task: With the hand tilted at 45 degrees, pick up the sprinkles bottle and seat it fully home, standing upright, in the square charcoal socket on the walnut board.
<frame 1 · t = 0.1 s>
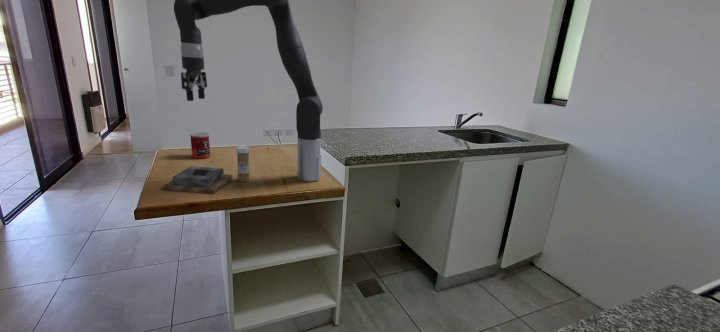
hand: (196, 99, 130), 29 cm above the table, tool pointing down, fingers open, 8 cm apart
socket board: (200, 183, 125), on the table
canned food: (201, 157, 157), on the table
sprinkles bottle: (244, 180, 131), on the table
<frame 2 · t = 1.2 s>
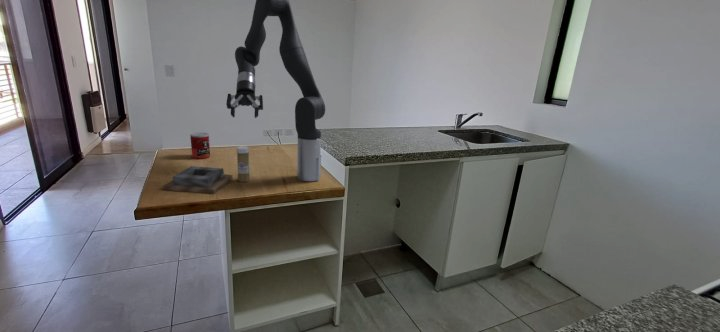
hand: (244, 116, 135), 23 cm above the table, tool tilted 45°, fingers open, 8 cm apart
nothing on the table moved.
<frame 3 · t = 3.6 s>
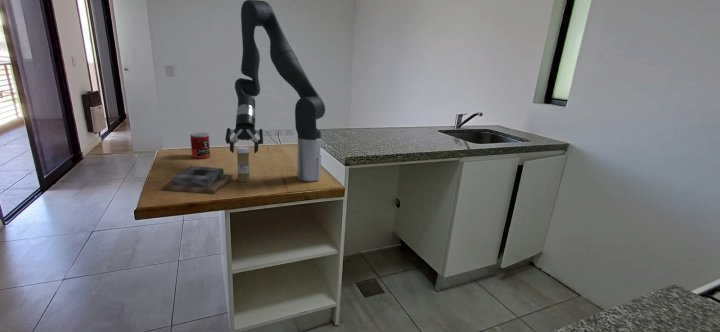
hand: (244, 152, 132), 10 cm above the table, tool tilted 45°, fingers open, 8 cm apart
nothing on the table moved.
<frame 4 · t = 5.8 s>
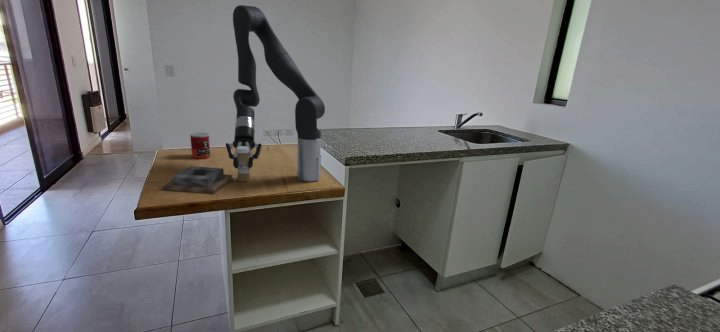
hand: (242, 167, 128), 6 cm above the table, tool tilted 45°, fingers closed on sprinkles bottle, 4 cm apart
sprinkles bottle: (244, 180, 131), on the table, touching gripper
everything else where it was.
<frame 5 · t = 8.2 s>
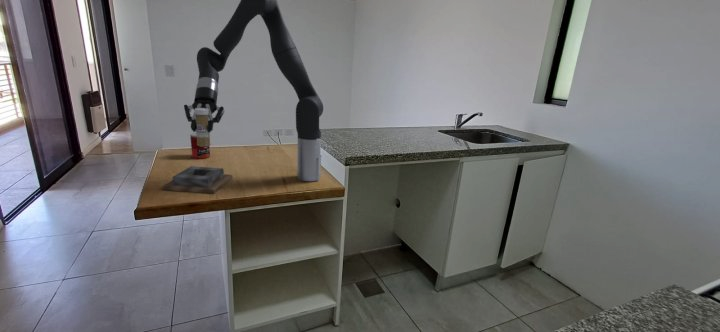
hand: (201, 130, 118), 20 cm above the table, tool tilted 45°, fingers closed on sprinkles bottle, 4 cm apart
sprinkles bottle: (204, 145, 122), point 14 cm above the table, touching gripper
everything else where it was.
when the fingers open (9 cm above the table, at t = 10.9 s): sprinkles bottle drops 1 cm, resting on socket board.
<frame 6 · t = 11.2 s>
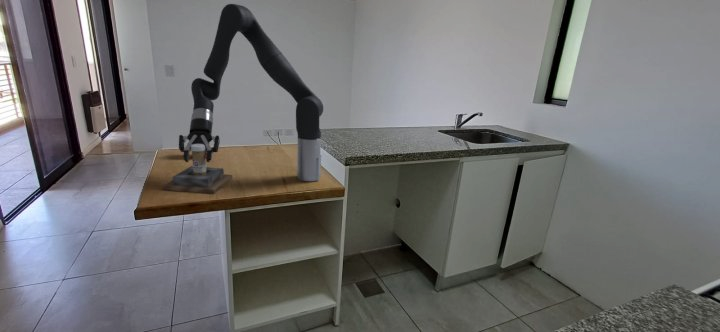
hand: (197, 161, 120), 9 cm above the table, tool tilted 45°, fingers open, 6 cm apart
sprinkles bottle: (200, 180, 125), point 1 cm above the table, touching socket board
everything else where it was.
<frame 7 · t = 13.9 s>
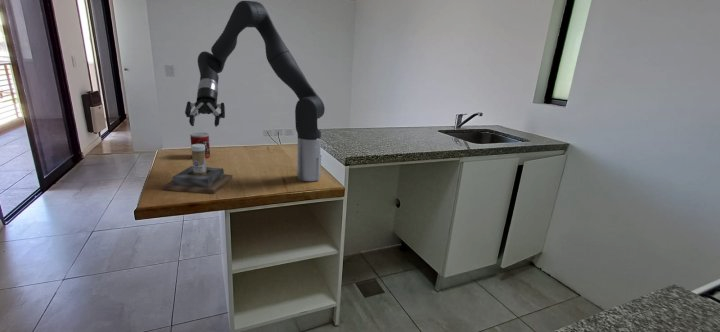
hand: (204, 125, 130), 20 cm above the table, tool tilted 45°, fingers open, 8 cm apart
nothing on the table moved.
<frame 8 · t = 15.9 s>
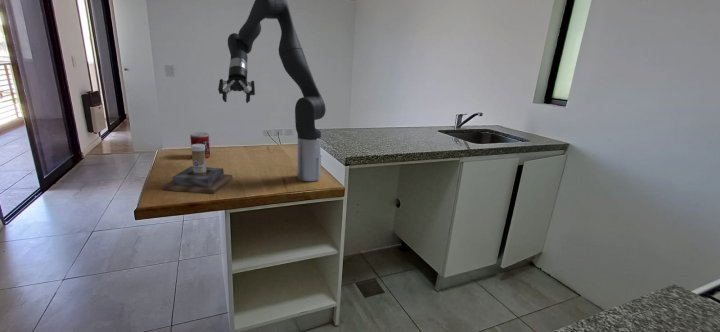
hand: (236, 101, 137), 29 cm above the table, tool tilted 45°, fingers open, 8 cm apart
nothing on the table moved.
at the end: sprinkles bottle 0.4 cm off-centre on the socket board, point 1.3 cm above the socket board's base; sprinkles bottle tilted 0°; the gripper is holding nothing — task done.
